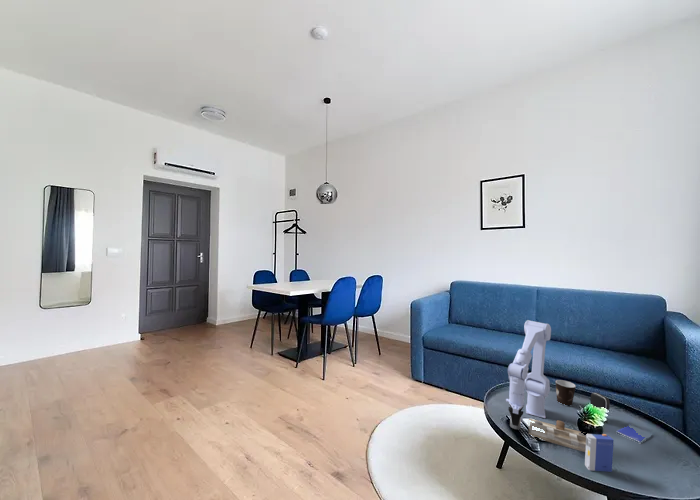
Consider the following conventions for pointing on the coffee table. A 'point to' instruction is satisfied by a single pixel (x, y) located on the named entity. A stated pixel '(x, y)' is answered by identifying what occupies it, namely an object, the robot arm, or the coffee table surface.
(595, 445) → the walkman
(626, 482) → the coffee table surface
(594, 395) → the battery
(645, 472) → the coffee table surface
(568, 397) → the coffee mug
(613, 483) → the coffee table surface
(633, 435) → the blue spiral notebook
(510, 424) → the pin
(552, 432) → the board
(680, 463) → the coffee table surface
